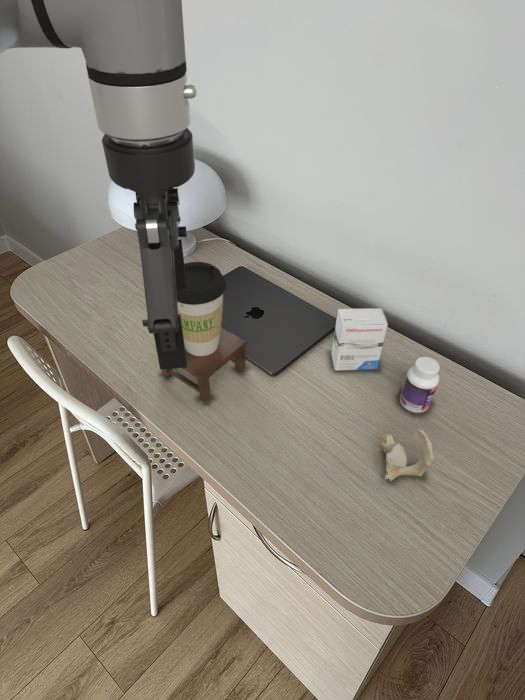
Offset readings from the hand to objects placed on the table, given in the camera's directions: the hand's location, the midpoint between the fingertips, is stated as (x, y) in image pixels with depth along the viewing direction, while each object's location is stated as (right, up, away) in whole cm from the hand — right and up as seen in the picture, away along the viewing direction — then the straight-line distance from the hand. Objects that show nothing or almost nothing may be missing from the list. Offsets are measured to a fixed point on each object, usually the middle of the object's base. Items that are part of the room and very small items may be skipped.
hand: (174, 323), depth 55 cm
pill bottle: (+38, -13, +34) cm, 52 cm away
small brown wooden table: (-1, -7, +39) cm, 39 cm away
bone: (+31, -22, +23) cm, 45 cm away
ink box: (+28, -5, +41) cm, 50 cm away
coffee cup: (-1, -2, +34) cm, 34 cm away
